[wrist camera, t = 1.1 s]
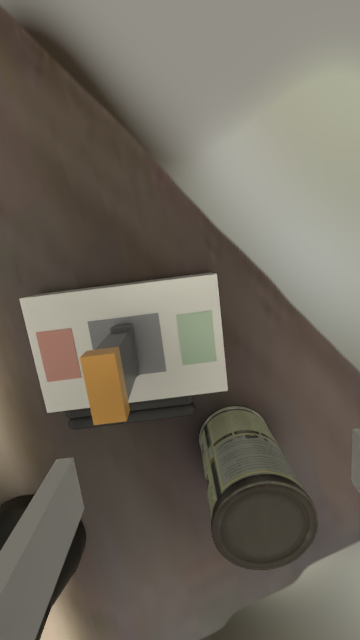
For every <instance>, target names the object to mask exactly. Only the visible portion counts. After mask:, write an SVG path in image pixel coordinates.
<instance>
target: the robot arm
mask: <svg viewBox="0 0 360 640" xmlns="http://www.w3.org/2000/svg"><path fill="white" fill-rule="evenodd" d="M351 482H352V484H353V485H354V486H355V487H356V489H357V490H358V491H359V492H360V428H358V429H353V434H352V471H351ZM83 511H84V504H83V499H82V495H81V490H80V486H79V481H78V477H77V472H76V467H75V463H74V458H63V459H56V461H55V462H54V464H53V466H52V467H51V469H50V471H49V472H48V474H47V475H46V477H45V479H44V480H43V482H42V484H41V485H40V487H39V489H38V490H37V492H36V494H35V495H34V496H23V497H18V498H15V499H12V500H10V501H7V502H6V503H4V504H2V505H1V506H0V640H40V637H41V635H42V632H43V629H44V626H45V623H46V620H47V618H48V615H49V612H50V609H51V607H52V606H53V604H54V603H55V601H56V600H57V598H58V597H59V595H60V594H61V592H62V591H63V589H64V587H65V586H66V584H67V583H68V581H69V579H70V578H71V576H72V575H73V574H74V572H75V571H76V569H77V567H78V565H79V563H80V560H81V557H82V554H83V550H84V547H85V541H86V537H85V531H84V527H83V525H82V523H81V521H80V519H81V516H82V514H83Z"/></svg>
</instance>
